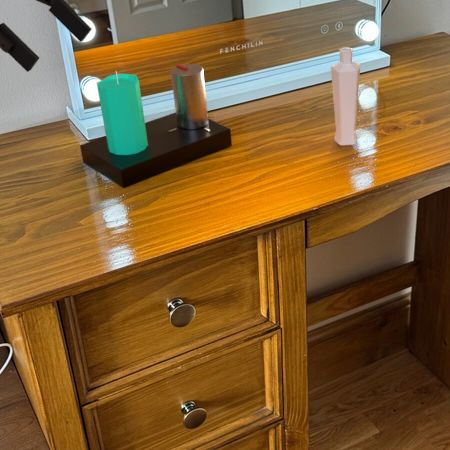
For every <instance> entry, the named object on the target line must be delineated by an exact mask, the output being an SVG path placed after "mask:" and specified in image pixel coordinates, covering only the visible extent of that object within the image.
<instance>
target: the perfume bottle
mask: <svg viewBox="0 0 450 450" xmlns="http://www.w3.org/2000/svg"><path fill="white" fill-rule="evenodd" d="M353 50H354V48H352V47H347V46H345V47H341V48H339V49H338V51H339V61H338V62H336V63H335V64H333V65H331V66H330V73H331V74H330V75H331V76H330V77H331V86H332V88H331V89H332V98H333V100H332V101H333V110H334V111H333V112H334V122H335V123H334V124H335V133H334V138H333V141H334V142H335V143H337V144H338V145H339V146H353V145H354V146H355V145H357V142H358V135H357V134H358V133H357V116H358V115H357V114H358V103H359V102H358V101H359V90H360V88H359V87H360V76H361V75H360V74H361V64H360V63H357V62H355V61H353Z"/></svg>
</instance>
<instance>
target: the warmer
mask: <svg viewBox="0 0 450 450" xmlns="http://www.w3.org/2000/svg"><path fill="white" fill-rule="evenodd" d="M214 117H217V114H216V113H215V114H211V115H208V124H207V125H206V126H204V127H202V128H199V129H182V128H180V127H178V125H177V118H176V111H175V112H172V113H169V114H166V115H164V116H161V117H157V118H155V119H152V120H149V121H145V127H146V134H147V140H148V146H147V147H146V149H145V150H143V151H141V152H139V153H135V154H130V155H116V154H113V153H111V152H110V151H109V149H108V144H107V138H106V136H103V137H100V138H97V139H94V140H91V141H89V142H86V143H85V142H84V143H82V144H80V145H79V149H80V153H81V159H82V163H83V164H84V165H85V166H88V167H89V168H90V169H92V170H94V171H95V172H96V173H99V174H100V175H102V176H103V177H105V178H106V179H108V180H109V181H111V182H113V183H114V184H116V185H118V186H119V187H120V188H123V189H126V188H128V187H130V186H133V185H136V184H138V183H141V182H143V181H147V180H148V179H151V178H153V177H156V176H159V175H161V174H164V173H166V172H168V171H171V170H174V169H176V168H179V167H181V166H184V165H187V164H189V163H191V162H194V161H197V160H199V159H202V158H204V157H207V156H209V155H211V154H215V153H217V152H220V151H222V150H224V149H228V148H230V147H232V146H233V144H232V143H233V142H232V141H233V140H232V132H231V131H232V130H231V128H230V127H228V126H225V125H223V124H221V123H220V122H217V121H215V120H212V118H214Z"/></svg>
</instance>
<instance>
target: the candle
mask: <svg viewBox="0 0 450 450" xmlns="http://www.w3.org/2000/svg"><path fill="white" fill-rule="evenodd" d="M96 87H97V92H98V98H99V103H100V109H101V114H102V115H101V116H102V120H103V127H104V132H105V137H106V138H107V144H108V149H109V151H110V152H111V153H113V154H116V155H130V154H135V153H139V152H141V151H143V150H145V149H146V147H147V146H148V140H147V134H146V127H145V123H146V121H145V113H144V107H143V101H142V93H141V87H140V81H139V78H138V75H136V74H131V73H118V71H117V70H115V74H111V75H108V76H106V77H105V78H103V79H102V80H100V81H98V82H97V81H96Z"/></svg>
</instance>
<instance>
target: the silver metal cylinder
mask: <svg viewBox="0 0 450 450" xmlns="http://www.w3.org/2000/svg"><path fill="white" fill-rule="evenodd" d="M170 78H171V85H172V93H173V99H174V100H173V102H174V109H175V112H176V118H177V125H178V127H180V128H182V129H199V128H202V127H204V126H206V125H207V124H208V119H209V118H208V117H209V114H208V113H209V111H208V104H207V94H206V85H205V75H204V68H203V66H202V65H199V64H195V63H194V64H192V63H188V64H187V63H185V64H181V63H177V64H175V66H174V67H172V68H171V69H170Z"/></svg>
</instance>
